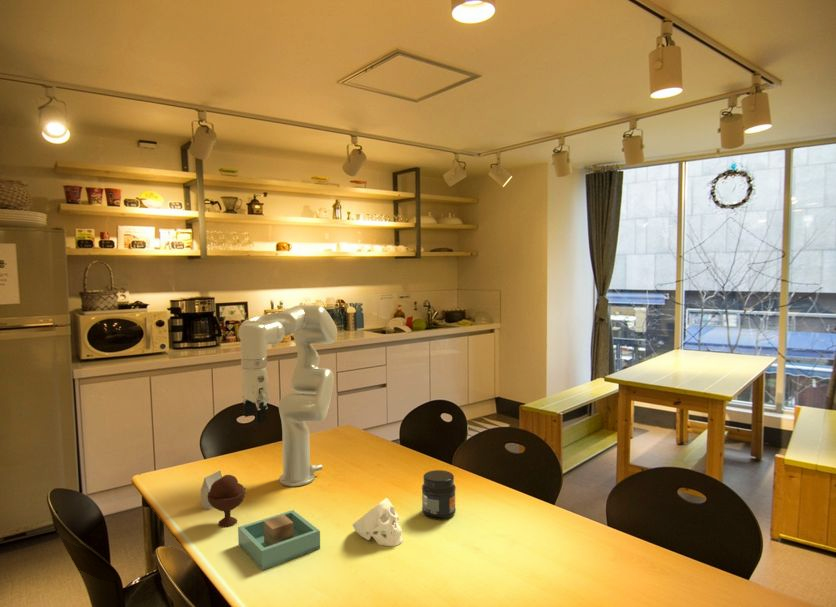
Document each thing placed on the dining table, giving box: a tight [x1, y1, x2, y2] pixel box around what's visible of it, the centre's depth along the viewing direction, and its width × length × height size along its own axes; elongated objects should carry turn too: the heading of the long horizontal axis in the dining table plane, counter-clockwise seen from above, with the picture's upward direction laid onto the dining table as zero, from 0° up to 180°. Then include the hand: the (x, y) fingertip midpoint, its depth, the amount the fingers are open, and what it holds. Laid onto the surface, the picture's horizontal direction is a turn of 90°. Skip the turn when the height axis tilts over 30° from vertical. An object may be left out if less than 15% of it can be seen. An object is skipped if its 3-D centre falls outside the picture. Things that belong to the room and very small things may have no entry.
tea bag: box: [200, 470, 223, 510], centre depth 171 cm, size 4×7×10 cm, turn 158°
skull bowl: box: [351, 497, 404, 547], centre depth 149 cm, size 10×14×12 cm
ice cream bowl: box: [208, 474, 247, 528], centre depth 158 cm, size 11×11×15 cm
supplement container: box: [421, 469, 457, 521], centre depth 164 cm, size 10×10×12 cm
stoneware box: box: [237, 509, 321, 571], centre depth 144 cm, size 16×16×5 cm
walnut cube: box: [264, 515, 294, 546], centre depth 144 cm, size 6×6×6 cm
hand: (255, 419), depth 162 cm, fingers open, 9 cm apart
